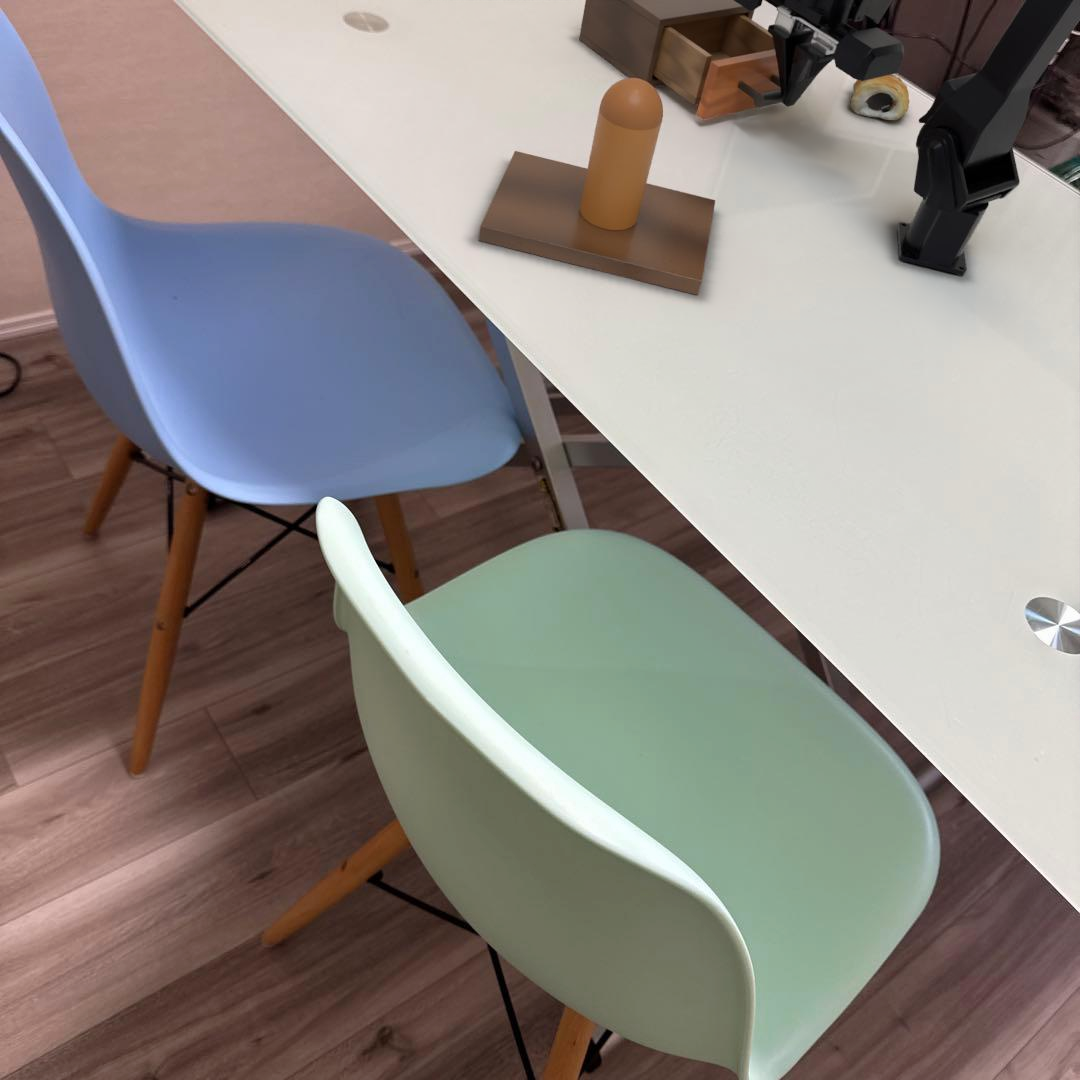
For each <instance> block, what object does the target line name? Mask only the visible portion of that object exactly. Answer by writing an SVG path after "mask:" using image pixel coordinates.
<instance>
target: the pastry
mask: <svg viewBox="0 0 1080 1080" xmlns="http://www.w3.org/2000/svg"><path fill="white" fill-rule="evenodd" d="M852 89H853V94H852V96H851V99H850V109H851V110H852V111H853V112H854V113H855V114H857V115H860V116H864V117H867V118H878V119H879V118H880V119H882V120H884V121H885V120H886V121H897V120H899V119H901V118H902V117H903V116H904V115H905V114H906V113H908V111H909V106H910V105H909V104H910V98H909V97H910V95H909V94H910V93H909V90H908V85H907V84H906V83H904V82H903V80H902V79H901V78H900V77H899V76H897V75H896V74H891V75H887V76H882V77H878V78H874V79H869V80H865V81H861V80H855V81H854V83H853V85H852Z"/></svg>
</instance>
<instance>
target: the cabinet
mask: <svg viewBox="0 0 1080 1080" xmlns="http://www.w3.org/2000/svg"><path fill="white" fill-rule="evenodd" d="M755 10H756V9H754V10H751V11H749V10H748V9H746V8H745V7H743V6H742V5H740V4H739V3H737V2H735V1H734V0H585V3H584V7H583V14H582V20H581V26H580V31H579V32H580V33H579V37H578V41H580V42H582V43H583V44H584V45H586V46H587V47H588V48H589V49H591V50H592V51H593V52H595V53H596V54H598V56H600V57H601V58H603V60H605V61H606V62H608V63H609V64H610V65H611V66H613V67H614V68H615V69H617V70H618V71H620V72H621V73H622V74H623V75H624V76H626V77H627V78H638V79H642V80H644V81H646V82H648V83H650V84H651V85H652V86H653V87H654V88H656V87H662V86H667V85H666V84H665V83H663V82H662V81H661V80H659V79H658V78H656V77H655V76H654V75H653V71H654V67H655V62H656V58H657V54H658V50H659V45H660V41H661V37H662V33H663V28H664V26H668V25H674V24H680V23H686V22H692V21H698V20H704V19H710V18H716V17H722V16H728V15H734V14H740V13H742V14H743V15H745V16H746V17H748V18H750V19H751V20H753V17H754V13H755Z"/></svg>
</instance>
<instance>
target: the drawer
mask: <svg viewBox="0 0 1080 1080" xmlns="http://www.w3.org/2000/svg"><path fill="white" fill-rule="evenodd" d="M653 75H654V76H655V77H656V78H658V79H659V80H661V81H662V82H663V83H665V84H666V85H665V86H667V87H668V88H670V89H671V90H673V91H674V92H675V93H676V94H678V95H679V96H681V97H682V98H683V99H685V100H686V101H688V102H689V103H690V104H692V105H693V106H697V105H698V108H697V111H696V117H699V118H700V119H701V120H702V121H705V120H709V119H714V118H719V117H722V116H727V115H731V114H736V113H739V112H740V113H741V112H744V111H749V110H753V109H757V108H763V107H769V106H773V105H777V104H783V103H782V97H781V88H780V80H779V71H778V63H777V58H776V53H775V48H774V42H773V37H772V35H771V34H770V33H769V32H768V29H766V28H765V27H764V26H763V25H761V24H759V23H757V22H756V21H754V20H753V19H752V20H751V19H750V18H748V17H746V16H745V15H743V14H742V13H740V14H734V15H728V16H722V17H716V18H710V19H704V20H698V21H692V22H686V23H680V24H674V25H668V26H664V28H663V33H662V37H661V41H660V45H659V50H658V54H657V58H656V62H655V67H654V71H653ZM801 97H802V95H801V96H800V98H801Z"/></svg>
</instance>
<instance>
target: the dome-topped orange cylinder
mask: <svg viewBox="0 0 1080 1080" xmlns="http://www.w3.org/2000/svg"><path fill="white" fill-rule="evenodd" d="M663 117H664V106H663V101H662V98H661V95H660V94H659V91H658V90H657V89H656V87H653V86H652V85H651V84H650V83H648V82H646V81H644V80H642V79H638V78H629V77H627V78H623V79H619V80H618V81H616V82H615V83H613V84H612V85H611V86H610V87H609V88H607V90H606V91H605V93H604V94H603V96H602V98H601V100H600V104H599V109H598V113H597V118H596V124H595V128H594V134H593V139H592V144H591V148H590V149H591V150H590V155H589V158H588V164H587V174H586V179H585V184H584V189H583V194H582V199H581V204H580V213H581V215H582V216H583V218H584V219H585V220H586V221H588V222H589V223H591V224H592V225H594V226H597V227H599V228H603V229H607V230H625V229H628V228H630V227H632V226H633V225H634V224H635V223H636V222H637V219H638V215H639V211H640V207H641V203H642V199H643V195H644V191H645V187H646V183H648V180H649V175H650V170H651V166H652V162H653V158H654V156H655V155H654V154H655V151H656V146H657V142H658V139H659V134H660V130H661V126H662V122H663Z"/></svg>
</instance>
